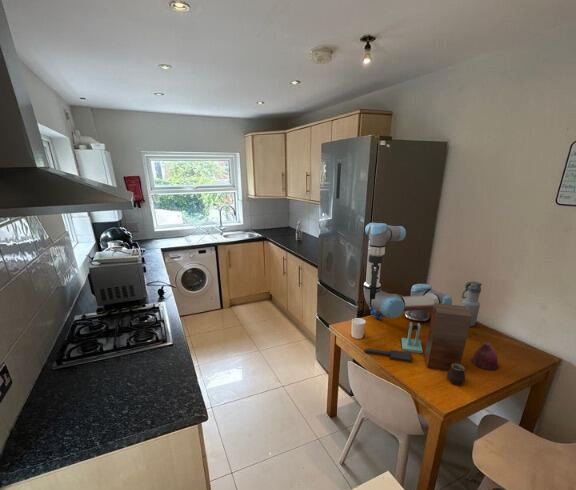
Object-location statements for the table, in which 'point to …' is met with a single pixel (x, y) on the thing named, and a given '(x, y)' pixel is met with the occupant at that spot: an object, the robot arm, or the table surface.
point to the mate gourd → (456, 374)
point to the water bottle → (472, 300)
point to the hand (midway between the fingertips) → (372, 294)
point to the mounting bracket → (412, 341)
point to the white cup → (358, 328)
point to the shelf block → (447, 336)
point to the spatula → (391, 354)
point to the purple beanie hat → (485, 357)
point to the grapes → (376, 314)
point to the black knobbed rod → (414, 327)
